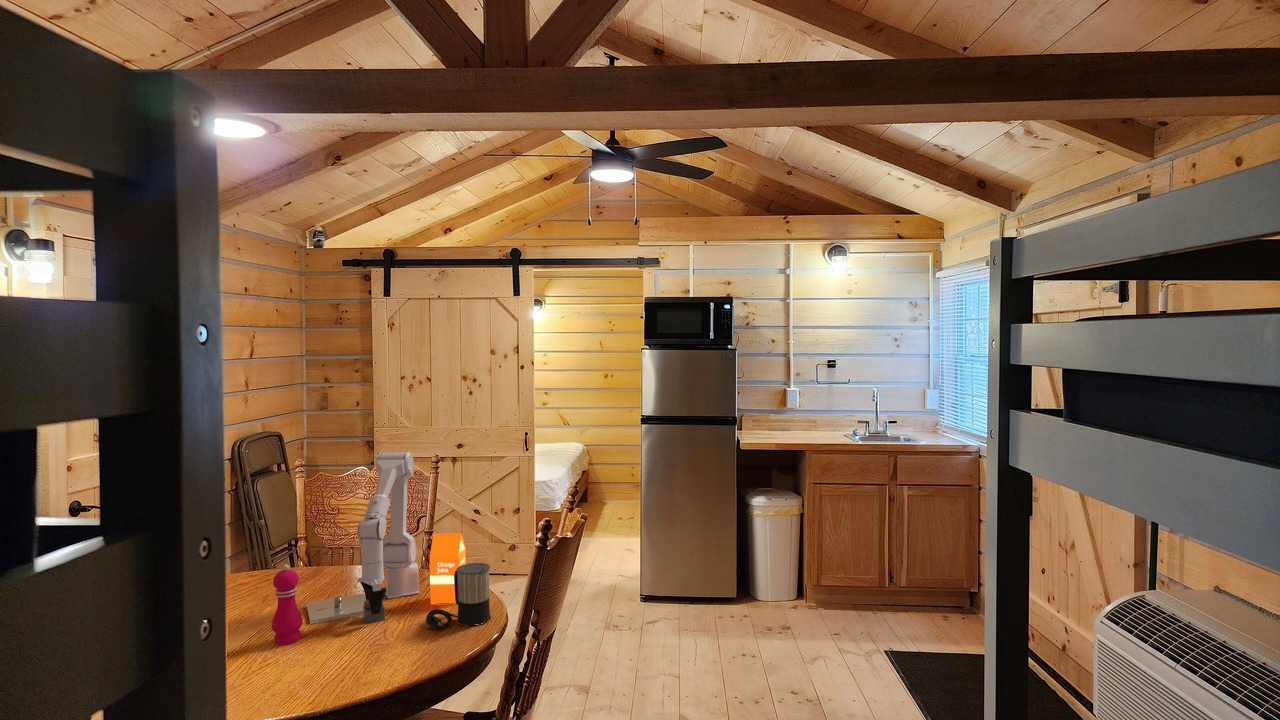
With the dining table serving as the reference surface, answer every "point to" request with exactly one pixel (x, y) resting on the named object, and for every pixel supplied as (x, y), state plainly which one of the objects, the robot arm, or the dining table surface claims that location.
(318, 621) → the flat square panel
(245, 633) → the dining table surface
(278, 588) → the pepper mill
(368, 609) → the knob
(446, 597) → the orange juice
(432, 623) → the milk frother
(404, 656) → the dining table surface
